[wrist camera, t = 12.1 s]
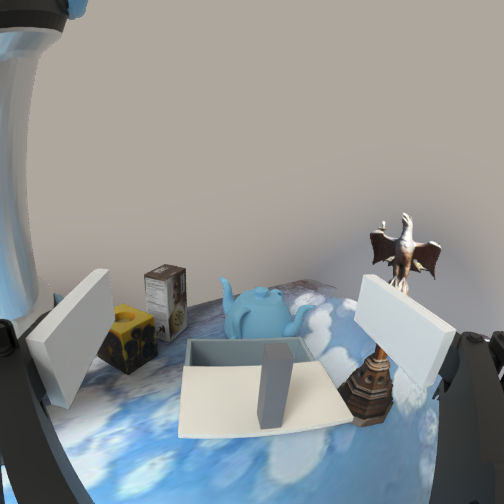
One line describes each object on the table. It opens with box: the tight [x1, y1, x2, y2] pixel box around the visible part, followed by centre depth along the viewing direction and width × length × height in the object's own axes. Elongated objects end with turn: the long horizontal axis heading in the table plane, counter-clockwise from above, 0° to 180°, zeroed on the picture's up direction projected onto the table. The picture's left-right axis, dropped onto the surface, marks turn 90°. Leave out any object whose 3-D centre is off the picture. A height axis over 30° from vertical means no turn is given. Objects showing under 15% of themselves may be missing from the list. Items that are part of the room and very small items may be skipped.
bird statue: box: [337, 213, 441, 427], centre depth 40 cm, size 17×13×35 cm
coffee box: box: [144, 264, 188, 342], centre depth 64 cm, size 9×6×16 cm
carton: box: [184, 336, 315, 367], centre depth 45 cm, size 22×14×8 cm, turn 98°
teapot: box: [219, 277, 316, 339], centre depth 63 cm, size 16×20×14 cm
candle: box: [97, 304, 158, 374], centre depth 52 cm, size 10×10×10 cm
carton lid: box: [178, 343, 354, 439], centre depth 33 cm, size 22×14×12 cm, turn 98°
